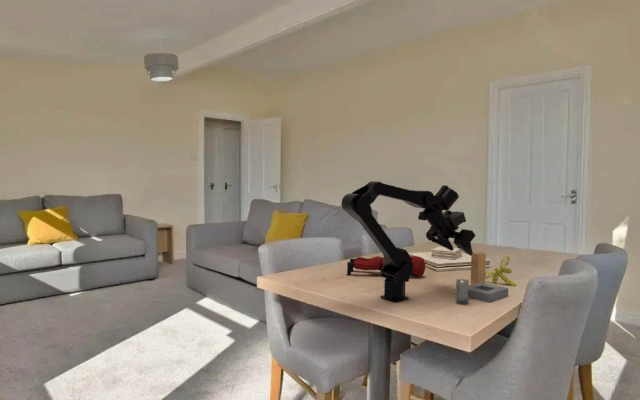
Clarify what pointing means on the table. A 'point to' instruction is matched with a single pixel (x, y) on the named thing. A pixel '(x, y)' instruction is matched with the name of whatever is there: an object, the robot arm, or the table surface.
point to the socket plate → (486, 292)
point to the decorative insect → (501, 273)
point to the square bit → (478, 267)
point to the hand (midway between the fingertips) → (461, 252)
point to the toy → (379, 263)
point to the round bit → (462, 291)
